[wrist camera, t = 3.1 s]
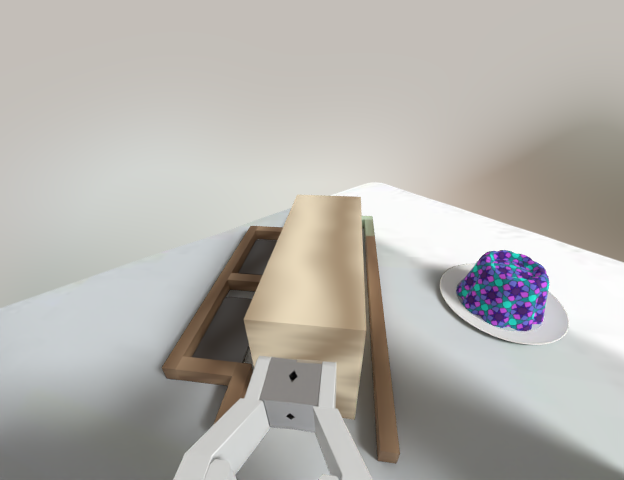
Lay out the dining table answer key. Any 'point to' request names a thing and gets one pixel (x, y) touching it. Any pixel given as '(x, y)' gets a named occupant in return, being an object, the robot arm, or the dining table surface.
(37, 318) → the dining table surface
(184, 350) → the frame
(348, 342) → the beige rectangular block
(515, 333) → the pudding
